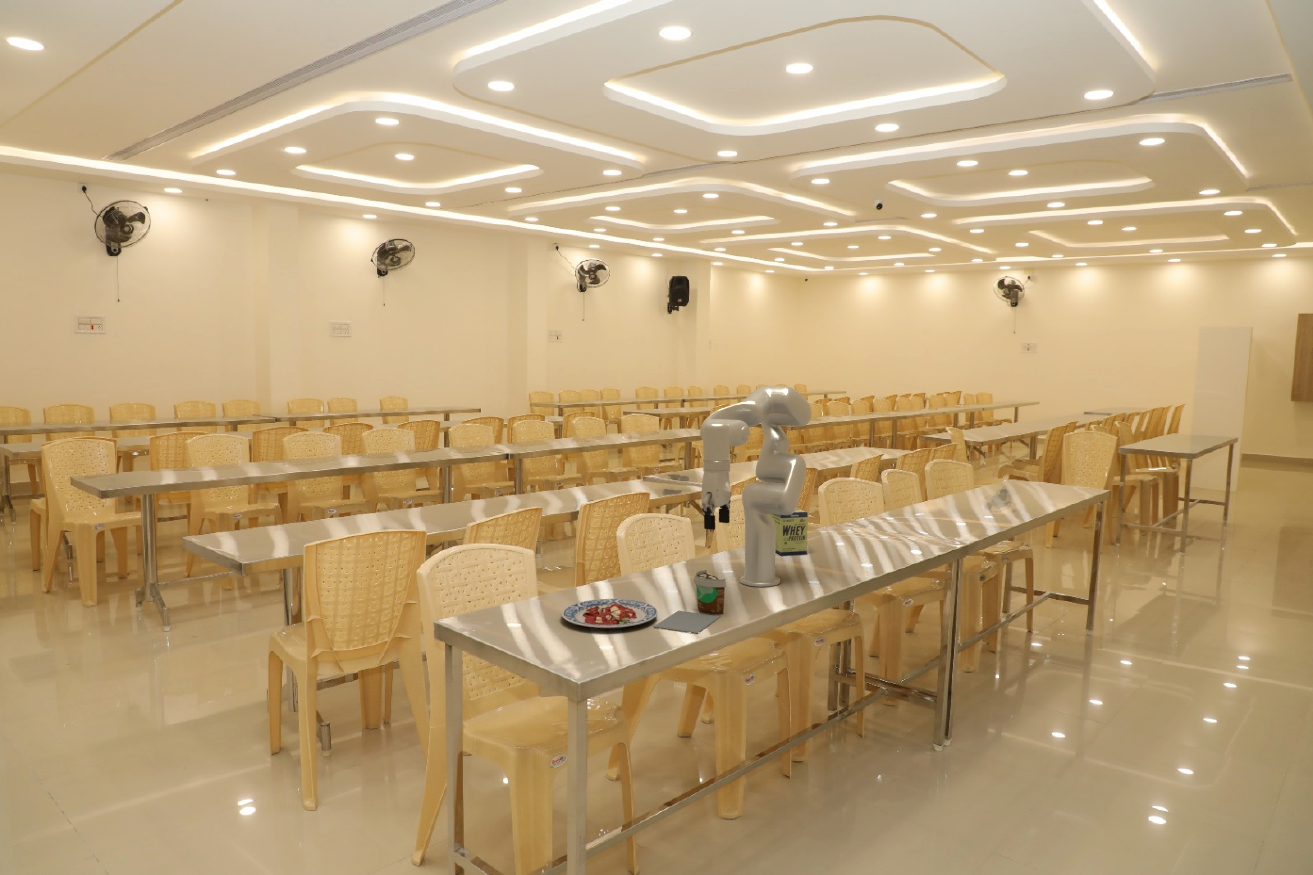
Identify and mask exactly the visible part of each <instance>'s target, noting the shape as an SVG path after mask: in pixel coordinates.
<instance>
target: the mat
mask: <svg viewBox="0 0 1313 875" xmlns="http://www.w3.org/2000/svg"><path fill="white" fill-rule="evenodd" d="M720 618H721V616H720V615H717V614H705V613H702V612H700V613H699V612H694V611H693V612H692V611H686V610H677V611H676V612H674V613H672V614H670V615H669V616H668V617H666V618H664V619H663V620H661V621H660V622H658V623H656V624H654V626H653V627H654V629H659V628H661V629H662V630H666V629H668V631H673V630H674V631H675V632H681V633H687V632H691V633H690V634H694V633H698V632H700V633H701V632H703V631H704V630H705V629H706V628H708V627H709V626H710V624H711V623H712V624H713V623H715V622H716V621H718V620H719V619H720ZM712 624H711V625H712ZM703 629H704V630H703ZM698 634H699V633H698Z"/></svg>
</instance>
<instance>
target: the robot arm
mask: <svg viewBox="0 0 1313 875" xmlns="http://www.w3.org/2000/svg"><path fill="white" fill-rule="evenodd" d="M812 413H813V412H812V407H811V405H810V403H809V401H808V400H807V399H806V398H805V397H804V396H803V395H802V394H801V393H800V392H799V391H798V390H796V389H795V388H793V387H792V386H787V385H781V386H780V385H764V386H759V387H758V388H756V389H755V390H753V391H752V392H751V393H750V394H749V395H748V396H746V397H745V398H744V399H743V400H742V401H740V402H737V403H734V404H730V405H728V406H724V407H722V408H720V409H717V410H715V411H714V412H712V413H711V414H710V415H708V416H707V417H706V418H705V419H704V421H703V422H702V424H701V426H700V431H699V432H700V433H699V434H700V438H701V441H702V443H703V444H702V445H703V446H702V450H703V451H702V456H703V458H702V459H703V463H702V464H703V466H702V467H703V470H702V472H703V474H702V481H701V482H702V484H701V497H700V498H701V501H700V502H701V504H700V505H701V507H702V511H703V512H702V514H703V528H704V530H710V531H711V530H712V531H713V530H714V531H715V530H716V515H715V512H716V509H717V508H718V523H721V524H722V523H723V524H729V523H730V521H731V520H730V518H731V517H730V514H731V512H730V510H731V509H730V508H731V505H730V504H731V501H732V500H731V497H732V492H731V482H730V472H731V460H730V459H731V447H739V446H742V445H745V444H746V443H747V442H748V440H749V438H750V435H751V431H750V430H751V429H750V428H754V427H756V426H758V425H761V429H762V433H763V442H762V446H761V448H760V452H759V456H758V460H757V462H756V466H755V476H756V479H758V480H759V481H752V482H749V483H748V484H747V483H746V485H745V486H744V488H743V490H742V491H741V492H742V493H741V500H742V506H743V512H744V574H743V575H742V576H739V582H740V583H741V584H742V585H745V586H750V587H758V588H759V587H760V588H764V587H773V586H774V587H775V586H777V585H779V584H780V583H781V578H780V577H779V576H776V568H777V567H776V553H775V538H776V528H775V524H774V521H773V519H772V518H771V516H770V514H778V515H791V514H793V513H794V512H795V510H796V508H798V505H799V501H800V498H801V495H802V491H803V489H804V488H803V487H804V483H805V480H806V477H807V464H806V460H805V459H804V458H803V456H801V455H799V454H796V453H794V454H793V453H789V450H790V445H791V442H790V439H789V438H788V435H787V434H786V433H785V431H784V430H783V428H782V427H805V426H807V425H808V424H809V423H810V421H811V419H812ZM781 426H782V427H781Z"/></svg>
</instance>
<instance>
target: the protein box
mask: <svg viewBox="0 0 1313 875" xmlns="http://www.w3.org/2000/svg"><path fill="white" fill-rule="evenodd" d="M770 516H771V518H772V519H773V521H774V524H775V528H776V538H775V555H778V556H780V557H784V556H785V557H788V556H806V555H808V512H807V511H805V510H803V509H799V507H797V508H796V510H795V512H794V513H793V514H791V515H778V514H770Z"/></svg>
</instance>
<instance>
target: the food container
mask: <svg viewBox="0 0 1313 875" xmlns="http://www.w3.org/2000/svg"><path fill="white" fill-rule="evenodd" d="M693 583H694V584H695V588H696V600H697V601H696V602H697V611H698V612H700V613H701V614H708V615H723V614H724V613H725V612H724V610H725V609H724V608H725V595H726V594H725V592H726V587H727V583H726V578H723V579H720V578H718V577H717V576H715V575H711V574H708V570H707V569H703V570H700V571H699V570H698V572H696V573H695V575H694V578H693Z"/></svg>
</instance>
